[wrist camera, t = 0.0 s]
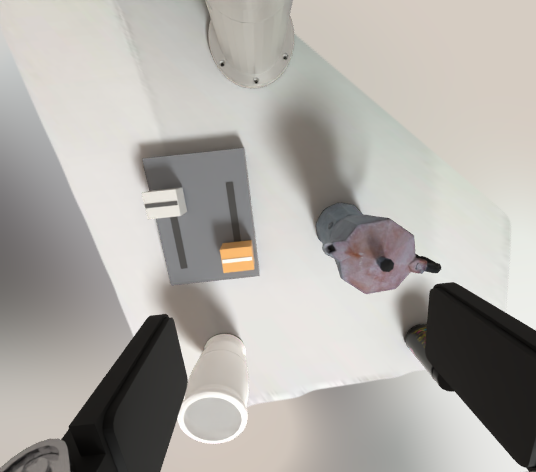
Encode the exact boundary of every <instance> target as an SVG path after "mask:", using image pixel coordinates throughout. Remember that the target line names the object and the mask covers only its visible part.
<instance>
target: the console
mask: <svg viewBox="0 0 536 472" xmlns="http://www.w3.org/2000/svg"><path fill="white" fill-rule="evenodd" d="M142 160H143V164H144V169H145V173H146V178H147V182H148V186H149V191H153V190H162V189H172V188H181V187H182V188H183V193H184V198H185V203H186V209H187V212H186V213H185V214H183V215H182V216H176V217H167V218H157V219H156V222H157V226H158V230H159V235H160V239H161V244H162V248H163V252H164V257H165V261H166V266H167V270H168V274H169V279H170V283H171V285H181V284H190V283H199V282H208V281H217V280H226V279H235V278H245V277H254V276H259V264H258V256H257V247H256V239H255V231H254V223H253V214H252V206H251V198H250V189H249V181H248V173H247V165H246V156H245V149H244V148H238V149H229V150H219V151H210V152H200V153H191V154H181V155H172V156H162V157H153V158H143V159H142ZM248 240H252V245H253V253H254V261H255V264H254V270H247V271H238V272H229V273H223V266H222V260H221V254H220V248H221V246H222V244H223V243H230V242H239V241H248Z"/></svg>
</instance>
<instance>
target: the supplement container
mask: <svg viewBox="0 0 536 472" xmlns="http://www.w3.org/2000/svg"><path fill="white" fill-rule="evenodd" d="M426 332H427V325H424V324H422V325H417V326H415V327H413V328H411V329H410V330H409V331H408V333H407V335H406V345H407V347H408V348H409V349H410V350H411V352H412V353H413V354H414V355H415V357H416V358H417V359H418V360H419V361H420V363H421V364H422V365H423V366H424V367H425V369H426V370H427V371H428V372H429V374H430V375H431V376H432V377H433V379H434V380H435V381H436V382H437V384H438V385H439V386H440V387H441V388H442V389H444V390H446V391H454V390H453V389H452V388H451V386H450V385H449V384H448V383H447V382H446V381H445V380H444V378H443V377H442V376H441V375H440V374H439V373H438V371H437V370H436V369H435V368H434V367H433V366H432V365H431V363H430V362H429V361H428V359H427V357H426V354H425V344H426Z"/></svg>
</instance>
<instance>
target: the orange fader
mask: <svg viewBox="0 0 536 472" xmlns="http://www.w3.org/2000/svg"><path fill="white" fill-rule="evenodd" d="M220 254H221V260H222V266H223V273H229V272H238V271H247V270H254V264H255V261H254V253H253V245H252V240H248V241H239V242H230V243H223V244H222V246H221V248H220Z"/></svg>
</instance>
